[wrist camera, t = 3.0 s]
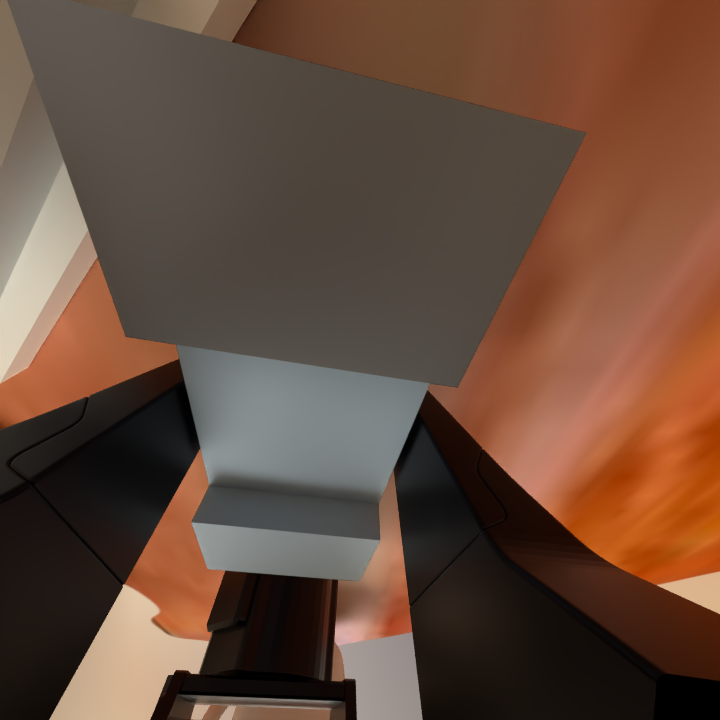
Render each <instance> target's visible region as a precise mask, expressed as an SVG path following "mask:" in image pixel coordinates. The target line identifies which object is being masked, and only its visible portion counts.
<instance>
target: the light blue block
mask: <svg viewBox="0 0 720 720" xmlns="http://www.w3.org/2000/svg"><path fill="white" fill-rule="evenodd" d="M7 1H8V4H9V7H10V10H11V13H12V15H13V18H14V21H15V24H16V27H17V30H18V32H19V35H20V38H21V41H22V44H23V47H24V49H25V52H26V55H27V58H28V61H29V64H30V66H31V69H32V72H33V75H34V78H35V81H36V83H37V86H38V89H39V92H40V95H41V98H42V100H43V103H44V106H45V109H46V112H47V115H48V117H49V120H50V123H51V126H52V129H53V132H54V134H55V137H56V140H57V143H58V146H59V149H60V151H61V154H62V157H63V160H64V163H65V166H66V168H67V171H68V174H69V177H70V180H71V183H72V185H73V188H74V191H75V194H76V197H77V200H78V203H79V205H80V208H81V211H82V214H83V217H84V220H85V222H86V225H87V228H88V231H89V234H90V237H91V239H92V242H93V245H94V248H95V251H96V254H97V256H98V259H99V262H100V265H101V268H102V271H103V273H104V276H105V279H106V282H107V285H108V288H109V290H110V293H111V296H112V299H113V302H114V305H115V307H116V310H117V313H118V316H119V319H120V322H121V324H122V327H123V330H124V333H125V336H126V337H130V338H137V339H143V340H150V341H156V342H163V343H169V344H176V347H177V351H178V355H179V359H180V364H181V368H182V372H183V376H184V381H185V385H186V389H187V393H188V397H189V402H190V406H191V410H192V414H193V419H194V423H195V427H196V431H197V435H198V440H199V444H200V448H201V452H202V457H203V461H204V465H205V469H206V474H207V478H208V482H209V487H208V489H207V491H206V493H205V495H204V497H203V500H202V502H201V504H200V506H199V508H198V510H197V512H196V514H195V516H194V518H193V520H192V522H191V523H192V526H193V529H194V531H195V534H196V537H197V540H198V543H199V546H200V548H201V551H202V554H203V557H204V560H205V563H206V565H207V568H208V569H213V570H226V571H238V572H250V573H262V574H274V575H287V576H299V577H311V578H323V579H336V580H348V581H360V579H361V577H362V575H363V573H364V571H365V569H366V567H367V565H368V563H369V562H370V560H371V558H372V556H373V554H374V552H375V550H376V548H377V546H378V544H379V542H380V525H379V502H380V500H381V497H382V495H383V493H384V490H385V488H386V485H387V483H388V481H389V478H390V476H391V474H392V471H393V469H394V467H395V464H396V462H397V460H398V457H399V455H400V453H401V450H402V448H403V446H404V443H405V441H406V439H407V436H408V434H409V431H410V429H411V427H412V424H413V422H414V420H415V417H416V415H417V413H418V410H419V408H420V406H421V403H422V401H423V399H424V396H425V394H426V392H427V389H428V387H429V385H430V384H437V385H443V386H450V387H456V388H458V386H459V384H460V382H461V380H462V378H463V376H464V374H465V372H466V370H467V368H468V366H469V364H470V362H471V360H472V358H473V356H474V354H475V352H476V350H477V348H478V346H479V344H480V342H481V340H482V338H483V337H484V335H485V333H486V331H487V329H488V327H489V325H490V323H491V321H492V319H493V317H494V315H495V313H496V311H497V309H498V307H499V305H500V303H501V301H502V299H503V297H504V295H505V293H506V291H507V289H508V287H509V285H510V283H511V281H512V279H513V277H514V275H515V273H516V271H517V269H518V267H519V265H520V263H521V262H522V260H523V258H524V256H525V254H526V252H527V250H528V248H529V246H530V244H531V242H532V240H533V238H534V236H535V234H536V232H537V230H538V228H539V226H540V224H541V222H542V220H543V218H544V216H545V214H546V212H547V210H548V208H549V206H550V204H551V202H552V200H553V198H554V196H555V194H556V192H557V190H558V188H559V187H560V185H561V183H562V181H563V179H564V177H565V175H566V173H567V171H568V169H569V167H570V165H571V163H572V161H573V159H574V157H575V155H576V153H577V151H578V149H579V147H580V145H581V143H582V141H583V139H584V137H585V135H586V133H585V132H581V131H577V130H573V129H570V128H566V127H562V126H558V125H554V124H550V123H546V122H542V121H538V120H534V119H530V118H527V117H523V116H519V115H515V114H511V113H507V112H503V111H499V110H495V109H491V108H487V107H483V106H480V105H476V104H472V103H468V102H464V101H460V100H456V99H452V98H448V97H444V96H440V95H437V94H433V93H429V92H425V91H421V90H417V89H413V88H409V87H405V86H401V85H397V84H394V83H390V82H386V81H382V80H378V79H374V78H370V77H366V76H362V75H358V74H354V73H350V72H347V71H343V70H339V69H335V68H331V67H327V66H323V65H319V64H315V63H311V62H307V61H304V60H300V59H296V58H292V57H288V56H284V55H280V54H276V53H272V52H268V51H264V50H260V49H257V48H253V47H249V46H245V45H241V44H237V43H233V42H229V41H225V40H221V39H217V38H214V37H210V36H206V35H202V34H198V33H194V32H190V31H186V30H182V29H178V28H174V27H170V26H167V25H163V24H159V23H155V22H151V21H147V20H143V19H139V18H135V17H131V16H127V15H124V14H120V13H116V12H112V11H108V10H104V9H100V8H96V7H92V6H88V5H84V4H81V3H77V2H73V1H69V0H7Z"/></svg>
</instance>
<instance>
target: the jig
mask: <svg viewBox="0 0 720 720" xmlns="http://www.w3.org/2000/svg"><path fill="white" fill-rule="evenodd" d="M69 1H73V2H77V3H81V4H84V5H88V6H92V7H96V8H100V9H104V10H108V11H112V12H116V13H120V14H124V15H127V16H131V17H135V18H139V19H143V20H147V21H151V22H155V23H159V24H163V25H167V26H170V27H174V28H178V29H182V30H186V31H190V32H194V33H198V34H202V35H206V36H210V37H214V38H217V39H221V40H225V41H229V42H232V40H233V38H234V37H235V35H236V34H237V32H238V30H239V29H240V27H241V26H242V24H243V22H244V21H245V19H246V18H247V16H248V14H249V13H250V11H251V10H252V8H253V6H254V5H255V3H256V2H257V0H69ZM96 258H97V254H96V251H95V248H94V245H93V242H92V239H91V237H90V234H89V231H88V228H87V225H86V222H85V220H84V217H83V214H82V211H81V208H80V205H79V203H78V200H77V197H76V194H75V191H74V188H73V185H72V183H71V180H70V177H69V174H68V171H67V168H66V166H65V163H64V160H63V157H62V154H61V151H60V149H59V146H58V143H57V140H56V137H55V134H54V132H53V129H52V126H51V123H50V120H49V117H48V115H47V112H46V109H45V106H44V103H43V100H42V98H41V95H40V92H39V89H38V86H37V83H36V81H35V78H34V75H33V72H32V69H31V66H30V64H29V61H28V58H27V55H26V52H25V49H24V47H23V44H22V41H21V38H20V35H19V32H18V30H17V27H16V24H15V21H14V18H13V15H12V13H11V10H10V7H9V4H8V1H7V0H0V384H1V383H2V382H4V381H6V380H8V379H9V378H11V377H13V376H14V375H16V374H18V373H20V372H21V371H23V370H25V369H26V368H28V367H29V365H30V364H31V362H32V360H33V359H34V357H35V356H36V354H37V352H38V351H39V349H40V348H41V346H42V344H43V343H44V341H45V340H46V338H47V336H48V335H49V333H50V332H51V330H52V328H53V327H54V325H55V324H56V322H57V320H58V319H59V317H60V316H61V314H62V312H63V311H64V309H65V308H66V306H67V304H68V303H69V301H70V300H71V298H72V296H73V295H74V293H75V292H76V290H77V288H78V287H79V285H80V284H81V282H82V280H83V279H84V277H85V276H86V274H87V272H88V271H89V269H90V268H91V266H92V264H93V263H94V261H95V260H96Z"/></svg>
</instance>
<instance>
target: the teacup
mask: <svg viewBox="0 0 720 720" xmlns="http://www.w3.org/2000/svg"><path fill="white" fill-rule="evenodd" d="M343 666H344V665H343V659H342V655H341V652H340V649H339V647H338V646H337V644H336V643H335V642H334V652H333V668H332V681H343V680H344V679H345V677H344V667H343ZM227 707H228V706H222V705H210V707H209V708H208V710H207V712H206V713H205V715H204V717H203V719H202V720H219V719H220V717H221V715H222V714H223V713H224V711H225V710H226V709H227ZM329 718H330V710H324V709H299V708H273V707H248V706H236V709H235V712H234V715H233V718H232V720H329Z"/></svg>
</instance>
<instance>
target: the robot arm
mask: <svg viewBox="0 0 720 720" xmlns="http://www.w3.org/2000/svg"><path fill="white" fill-rule="evenodd" d="M199 450H200V444H199V440H198V435H197V431H196V427H195V423H194V419H193V414H192V410H191V406H190V402H189V397H188V393H187V389H186V385H185V381H184V376H183V372H182V368H181V364H180V359H178V360H175V361H173V362H170V363H168V364H166V365H163V366H161V367H158V368H156V369H153V370H151V371H148V372H146V373H143V374H141V375H139V376H136V377H134V378H131V379H129V380H126V381H124V382H121V383H119V384H116V385H114V386H111V387H109V388H107V389H104V390H102V391H99V392H97V393H94V394H92V395H90V396H89V397H84V398H82V399H79V400H77V401H75V402H72V403H70V404H67V405H65V406H62V407H60V408H57V409H54V410H52V411H49V412H47V413H44V414H42V415H39V416H37V417H34V418H31V419H28V420H26V421H23V422H20V423H17V424H15V425H12V426H9V427H6V428H4V429H1V430H0V720H49V719H50V717H51V715H52V713H53V712H54V710H55V708H56V706H57V705H58V703H59V701H60V699H61V697H62V696H63V693H64V692H65V690H66V688H67V687H68V685H69V683H70V681H71V679H72V677H73V676H74V674H75V672H76V670H77V669H78V666H79V665H80V663H81V661H82V660H83V658H84V656H85V654H86V653H87V651H88V649H89V647H90V645H91V644H92V642H93V640H94V638H95V636H96V635H97V633H98V631H99V629H100V627H101V626H102V624H103V622H104V620H105V618H106V616H107V615H108V613H109V611H110V609H111V607H112V606H113V604H114V602H115V601H116V598H117V597H118V595H119V593H120V592H121V590H122V588H123V586H122V585H124V584H125V582H126V580H127V579H128V577H129V575H130V573H131V571H132V570H133V568H134V566H135V564H136V562H137V561H138V559H139V557H140V555H141V554H142V552H143V550H144V548H145V546H146V545H147V543H148V541H149V539H150V537H151V536H152V534H153V532H154V530H155V528H156V527H157V525H158V523H159V521H160V520H161V518H162V516H163V514H164V512H165V511H166V509H167V507H168V505H169V503H170V502H171V500H172V498H173V496H174V494H175V493H176V491H177V489H178V487H179V485H180V484H181V482H182V480H183V478H184V477H185V475H186V473H187V471H188V469H189V468H190V466H191V464H192V462H193V460H194V459H195V457H196V455H197V453H198V451H199ZM394 477H395V485H396V494H397V502H398V511H399V519H400V528H401V536H402V545H403V554H404V562H405V571H406V579H407V588H408V596H409V605H410V606H411V607H410V615H411V623H412V632H413V640H414V649H415V658H416V666H417V675H418V683H419V692H420V700H421V709H422V718H423V720H720V614H718V613H716V612H714V611H711V610H709V609H707V608H705V607H702V606H701V605H698V604H696V603H694V602H692V601H689V600H687V599H685V598H683V597H681V596H679V595H676V594H674V593H671V592H670V591H668V590H665V589H663V588H661V587H659V586H657V585H654V584H652V583H650V582H648V581H646V580H643V579H641V578H639V577H637V576H635V575H632V574H630V573H628V572H626V571H624V570H622V569H620V568H618V567H616V566H615V565H613V564H611V563H609V562H608V561H606V560H605V559H603V558H602V557H600V556H599V555H597V554H596V553H594V552H593V551H592V550H590V549H589V548H588V547H587V546H585V545H584V544H583V543H582V542H581V541H580V540H579V539H577V538H576V537H575V536H574V535H573V534H572V533H571V532H570V531H569V530H568V529H566V528H565V527H564V526H563V525H562V524H561V523H560V522H559V521H558V520H557V519H556V518H554V517H553V516H552V515H551V514H550V513H549V512H548V511H547V510H546V509H545V508H544V507H542V506H541V505H540V504H539V503H538V502H537V501H536V500H535V499H534V498H533V497H532V496H530V495H529V494H528V493H527V492H526V491H525V490H524V489H523V488H522V487H521V486H520V485H519V484H518V483H517V482H516V481H515V480H514V479H512V478H511V477H510V476H509V475H508V474H507V473H506V472H505V471H504V470H503V469H502V468H501V467H500V466H499V465H498V464H497V463H496V461H495V460H494V459H493V458H492V457H491V456H490V455H489V454H488V453H487V452H486V451H485V450H482V447H481V446H480V445H479V444H478V443H477V442H476V441H475V440H474V439H473V437H472V436H471V435H470V434H469V433H468V432H467V431H466V430H465V429H464V428H463V427H462V426H461V425H460V424H459V423H458V422H457V421H456V420H455V418H454V417H453V416H452V415H451V414H450V413H449V412H448V411H447V410H446V409H445V408H444V407H443V406H442V405H441V404H440V403H439V402H438V401H437V400H436V398H435V397H434V396H433V395H432V394H431V393H430V392H429V391H428V390H427V392H426V394H425V396H424V399H423V401H422V403H421V406H420V408H419V410H418V413H417V415H416V417H415V420H414V422H413V424H412V427H411V429H410V431H409V434H408V436H407V439H406V441H405V443H404V446H403V448H402V450H401V453H400V455H399V457H398V460H397V462H396V464H395V467H394ZM337 590H338V580H336V579H323V578H311V577H299V576H287V575H274V574H262V573H250V572H238V571H225V574H224V576H223V579H222V582H221V585H220V588H219V591H218V594H217V596H216V599H215V602H214V605H213V608H212V611H211V614H210V617H209V619H208V622H207V630H208V632H211V633H212V635H211V638H210V641H209V644H208V647H207V650H206V653H205V656H204V659H203V662H202V665H201V668H200V671H199V674H191V673H190V672H189V671H186V670H176V671H175V673H174V675H168V677H167V680H166V682H165V685H164V687H163V690H162V693H161V695H160V697H159V700H158V703H157V705H156V708H155V710H154V713H153V715H152V717H151V719H150V720H190V719H191V715H192V712H193V708H194V705H195V704H196V705H222V706H248V707H273V708H299V709H324V710H330V718H329V720H357V716H356V715H357V712H356V681H355V679H344V680H343V681H332V668H333V652H334V637H335V621H336V606H337Z"/></svg>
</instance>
